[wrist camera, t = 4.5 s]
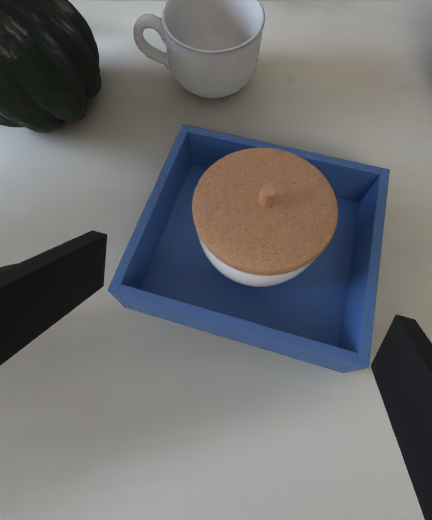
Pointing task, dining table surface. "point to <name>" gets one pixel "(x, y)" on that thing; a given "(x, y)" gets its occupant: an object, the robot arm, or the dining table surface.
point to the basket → (260, 298)
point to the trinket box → (263, 215)
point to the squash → (45, 64)
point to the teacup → (206, 43)
